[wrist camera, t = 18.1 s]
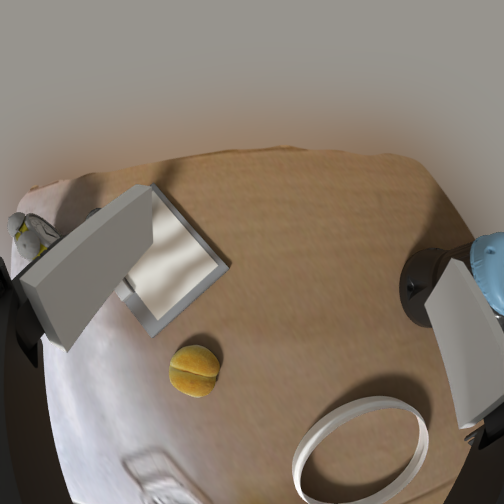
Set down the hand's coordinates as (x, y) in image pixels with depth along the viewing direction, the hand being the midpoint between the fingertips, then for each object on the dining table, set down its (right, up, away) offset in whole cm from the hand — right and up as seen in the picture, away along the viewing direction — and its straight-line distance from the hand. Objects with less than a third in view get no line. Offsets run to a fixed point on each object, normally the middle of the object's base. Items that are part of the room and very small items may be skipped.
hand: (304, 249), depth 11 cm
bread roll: (-12, -20, +33) cm, 40 cm away
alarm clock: (-42, 0, +38) cm, 57 cm away
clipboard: (-20, -1, +37) cm, 42 cm away
